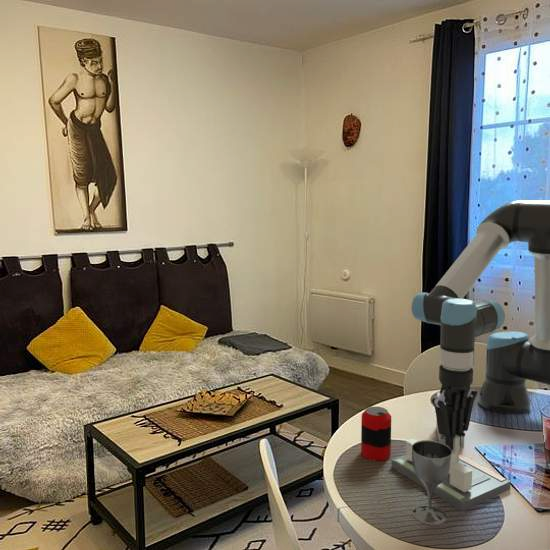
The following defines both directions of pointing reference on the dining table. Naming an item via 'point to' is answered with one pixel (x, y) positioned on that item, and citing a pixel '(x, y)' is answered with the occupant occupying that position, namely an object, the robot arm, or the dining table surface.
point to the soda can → (376, 434)
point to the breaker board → (482, 489)
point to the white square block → (453, 459)
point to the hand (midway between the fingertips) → (452, 460)
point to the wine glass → (430, 476)
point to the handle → (409, 448)
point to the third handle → (461, 477)
